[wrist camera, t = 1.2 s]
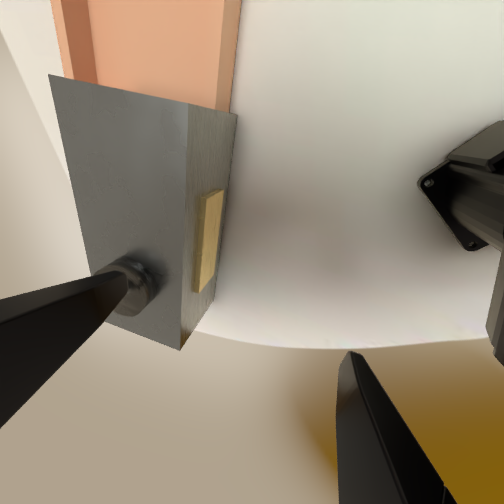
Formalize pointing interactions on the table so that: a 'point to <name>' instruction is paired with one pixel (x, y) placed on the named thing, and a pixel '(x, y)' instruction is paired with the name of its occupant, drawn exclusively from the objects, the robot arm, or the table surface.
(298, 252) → the table surface
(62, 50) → the dish
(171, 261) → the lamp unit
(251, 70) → the table surface
